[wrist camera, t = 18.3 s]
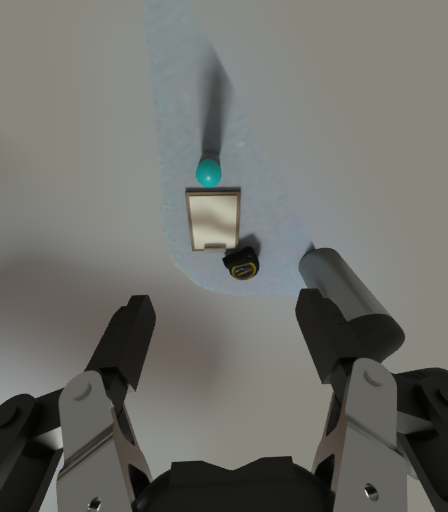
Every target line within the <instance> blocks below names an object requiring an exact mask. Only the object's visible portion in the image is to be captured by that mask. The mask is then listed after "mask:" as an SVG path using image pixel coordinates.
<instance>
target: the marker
mask: <svg viewBox="0 0 448 512" xmlns="http://www.w3.org/2000/svg"><path fill="white" fill-rule="evenodd" d="M196 177H197V180H198V181H199V183H200V184H201V185H203V186H205V187H213V186H215V185H217V184H218V183H219V181H220V179H221V168H220V158H219V155H218V154H217V153H216V152H215V151H213V150H206V151H205V152H203V154H202V155H201V158H200V161H199V165H198V167H197V170H196Z"/></svg>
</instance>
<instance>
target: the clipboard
mask: <svg viewBox="0 0 448 512" xmlns="http://www.w3.org/2000/svg"><path fill="white" fill-rule="evenodd" d="M240 193H241V192H240V191H188V192H185V196H186V204H187V212H188V220H189V228H190V236H191V245H192V251H204V253H215V252H226V250H238V234H239V214H240Z"/></svg>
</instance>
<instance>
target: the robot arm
mask: <svg viewBox="0 0 448 512" xmlns="http://www.w3.org/2000/svg"><path fill="white" fill-rule="evenodd" d="M299 272H300V274H301V276H302V278H303V280H304V282H305V284H306V286H307V288H306V289H301V290H300V293H299V297H298V301H297V304H296V309H295V312H296V317H297V321H298V323H299V326H300V328H301V331H302V334H303V336H304V339H305V341H306V344H307V346H308V349H309V351H310V354H311V356H312V359H313V362H314V364H315V367H316V369H317V372H318V375H319V377H320V380H321V382H322V384H331V385H332V387H333V390H334V391H333V394H332V398H331V402H330V407H329V411H328V416H327V420H326V424H325V428H324V432H323V436H322V439H321V441H320V444H319V446H318V448H317V451H316V455H315V458H314V462H313V466H312V471H311V472H309V471H308V470H306V469H305V468H303V467H301V466H299V465H297V464H294V463H293V461H292V457H291V456H284V457H264V458H260V459H258V460H256V461H254V462H251V463H249V464H247V465H245V466H242V467H240V468H238V469H236V470H228V469H224V468H222V467H219V466H216V465H213V464H209V463H206V462H204V461H184V462H172V465H171V469H170V470H168V471H166V472H165V473H163V474H161V475H160V476H158V477H157V478H156V479H155V480H154V481H153V479H152V476H151V473H150V470H149V467H148V464H147V462H146V460H145V457H144V455H143V453H142V452H141V450H140V448H139V445H138V443H137V440H136V437H135V434H134V431H133V428H132V425H131V422H130V419H129V416H128V413H127V410H126V407H125V404H124V400H125V396H126V393H127V392H136V389H137V385H138V381H139V378H140V374H141V371H142V368H143V364H144V361H145V357H146V354H147V351H148V347H149V344H150V340H151V337H152V333H153V330H154V327H155V321H156V315H155V311H154V308H153V306H152V303H151V300H150V297H149V296H148V295H133V296H132V297H131V298H130V300H129V302H128V304H127V306H122V307H121V308H120V309H119V310H118V311H117V312H116V313H115V314H114V315H113V317H112V319H111V321H110V323H109V324H108V327H107V328H106V330H105V332H104V335H103V336H102V338H101V340H100V342H99V344H98V346H97V348H96V350H95V352H94V354H93V356H92V358H91V360H90V362H89V364H88V365H87V367H86V369H85V370H84V372H83V373H81V374H79V375H77V376H76V377H74V378H73V379H72V380H71V381H70V382H69V383H68V384H67V385H66V386H65V387H64V388H62V389H60V390H57V391H54V392H51V393H49V394H46V395H43V396H40V397H38V398H34V397H33V396H31V395H29V394H20V395H16V396H14V397H12V398H10V399H8V400H7V401H5V402H4V403H3V404H1V405H0V512H39V509H40V507H41V504H42V502H43V500H44V497H45V495H46V492H47V490H48V487H49V485H50V483H51V480H52V478H53V475H54V472H55V470H56V468H57V465H58V463H59V460H60V458H61V456H62V453H63V451H64V466H63V468H62V469H61V470H60V471H59V474H58V476H57V483H56V486H57V487H56V488H57V504H58V512H407V474H408V475H409V476H411V477H413V478H414V479H417V480H420V482H421V484H422V486H423V488H424V490H425V492H426V494H427V496H428V498H429V500H430V502H431V504H432V506H433V507H434V510H435V512H448V370H445V369H441V368H426V369H420V370H415V371H409V372H404V373H398V374H393V373H390V372H389V371H388V370H387V369H386V368H385V367H384V366H383V365H381V362H382V361H383V360H385V359H386V358H387V357H388V356H390V355H391V354H393V353H394V352H395V351H397V350H398V349H399V348H400V347H401V346H402V344H403V342H404V340H405V334H404V332H403V330H402V329H401V327H400V326H399V325H398V324H397V322H396V321H395V320H394V319H393V318H392V316H391V315H390V314H389V313H388V312H387V311H386V309H385V308H384V307H383V306H382V305H381V303H380V302H379V301H378V300H377V299H376V298H375V297H374V295H373V294H372V293H371V292H370V291H369V290H368V288H367V287H366V286H365V285H364V283H363V282H362V281H361V280H360V279H359V278H358V277H357V275H356V274H355V273H354V272H353V270H352V269H351V268H350V267H349V266H348V264H347V263H346V262H345V261H344V260H343V259H342V257H341V256H340V255H339V254H338V253H337V252H336V251H335V250H334V249H331V248H320V249H316V250H313V251H311V252H310V253H308V254H307V255H306V256H304V258H303V259H302V260H301V262H300V264H299Z"/></svg>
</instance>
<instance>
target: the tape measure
mask: <svg viewBox="0 0 448 512" xmlns="http://www.w3.org/2000/svg"><path fill="white" fill-rule="evenodd" d="M222 260H223V263H224V265H225V267H226V268H227V269H229V272H230V274H231V275H232V276H233V277H234V278H236V279H238V280H247V279H250V278H252V277H254V276H255V275H256V274H257V272H258V271H259V260H258V258H257V256H256V254H255V252H254V250H253V248H252V247H247V248H245V249H243V250H241V251H239V252H237V253H234V254H231V255H229V256H226V257H224V259H223V258H222Z"/></svg>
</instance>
